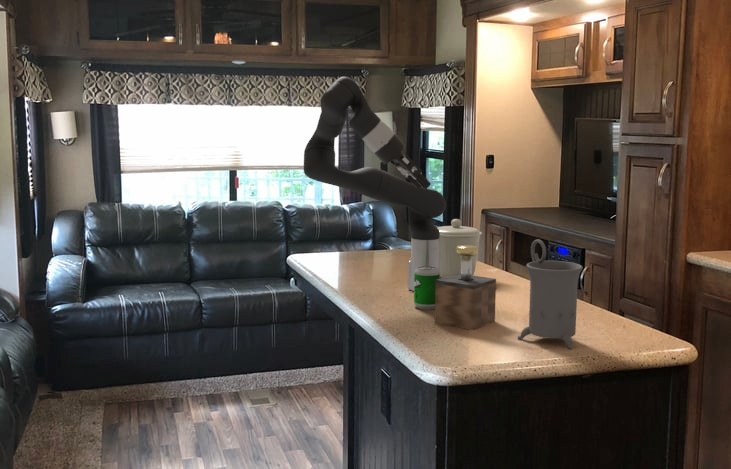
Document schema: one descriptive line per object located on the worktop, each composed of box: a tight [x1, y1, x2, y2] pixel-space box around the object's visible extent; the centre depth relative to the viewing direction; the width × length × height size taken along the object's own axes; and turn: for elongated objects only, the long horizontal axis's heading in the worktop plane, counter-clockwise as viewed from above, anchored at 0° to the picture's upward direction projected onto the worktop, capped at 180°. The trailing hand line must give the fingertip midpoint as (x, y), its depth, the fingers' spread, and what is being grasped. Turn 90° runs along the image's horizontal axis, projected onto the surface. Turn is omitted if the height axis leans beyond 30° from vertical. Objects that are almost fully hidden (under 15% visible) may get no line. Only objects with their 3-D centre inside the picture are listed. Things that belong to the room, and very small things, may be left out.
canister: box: [436, 218, 483, 279], centre depth 277 cm, size 18×18×21 cm
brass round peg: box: [456, 245, 478, 281], centre depth 215 cm, size 6×6×12 cm
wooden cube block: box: [434, 274, 497, 331], centre depth 216 cm, size 12×12×12 cm
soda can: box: [413, 266, 441, 311], centre depth 233 cm, size 8×8×12 cm
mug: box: [517, 238, 584, 350], centre depth 198 cm, size 19×15×25 cm
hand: (424, 186), depth 210 cm, fingers open, 8 cm apart
